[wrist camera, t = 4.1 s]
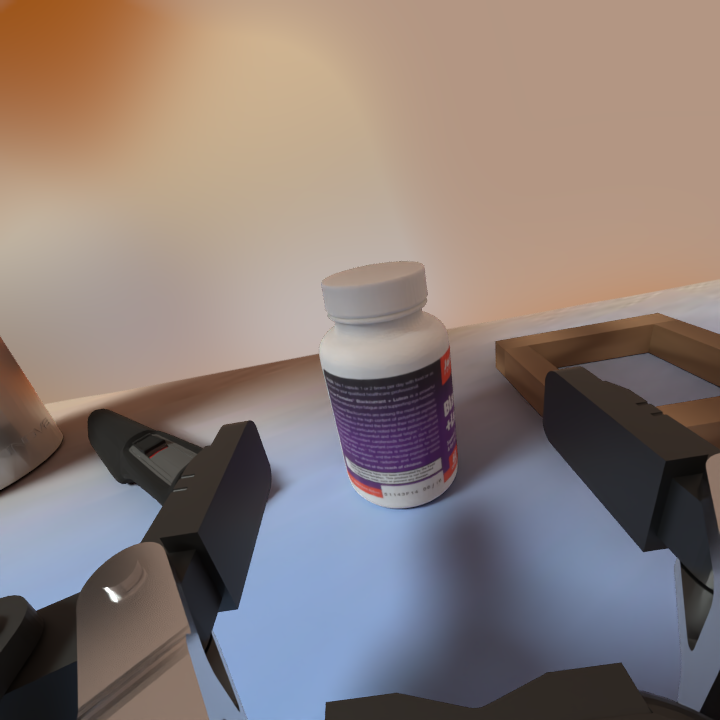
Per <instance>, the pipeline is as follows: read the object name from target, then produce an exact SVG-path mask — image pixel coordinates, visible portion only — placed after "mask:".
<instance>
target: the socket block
mask: <svg viewBox="0 0 720 720" xmlns="http://www.w3.org/2000/svg"><path fill="white" fill-rule="evenodd" d="M495 343H496V368H497V369H498V370H499V371H500V372H501V373H502V374H503V375H504V377H505V378H506V379H507V380H508V381H509V382H510V383H511V384H512V385H513V386H514V387H515V388H516V389H517V391H518V392H519V393H520V394H521V395H522V396H523V397H524V398H525V399H526V400H527V401H528V402H529V403H530V405H531V406H532V407H533V408H534V409H535V410H536V411H537V412H538V413H539V414H540V415H541V416H542V417H543V408H544V391H545V378H546V375H547V373H548V372H549V371H554V370H559V369H558V368H559V367H564V366H570V365H576V364H582V363H588V362H594V361H600V360H606V359H612V358H617V357H623V356H629V355H635V354H641V353H647V352H649V353H651V354H653V355H655V356H657V357H659V358H661V359H663V360H665V361H667V362H669V363H671V364H673V365H675V366H677V367H680V368H682V369H684V370H686V371H688V372H690V373H692V374H694V375H696V376H698V377H700V378H702V379H704V380H706V381H708V382H710V383H713V384H715V385H717V386H719V387H720V334H717V333H714V332H711V331H709V330H706V329H703V328H700V327H697V326H694V325H691V324H688V323H685V322H682V321H680V320H677V319H674V318H671V317H668V316H665V315H662V314H659V313H655V314H650V315H644V316H638V317H632V318H627V319H621V320H615V321H609V322H604V323H598V324H592V325H586V326H581V327H575V328H569V329H563V330H558V331H552V332H546V333H540V334H535V335H529V336H523V337H517V338H511V339H506V340H500V341H495ZM656 408H658V409H659V410H661V411H662V412H663V414H664V415H665V414H667V415H669V416H670V417H672V418H673V419H675V420H676V421H678V422H679V423H681V424H682V425H684V426H685V427H687V428H688V429H690V430H691V431H693V432H694V433H696V434H697V435H699V436H700V437H702V438H703V439H705V440H707V441H708V442H710V443H711V444H713V445H714V446H716V447H717V448H719V449H720V396H717V397H711V398H705V399H699V400H693V401H687V402H681V403H675V404H669V405H663V406H657V407H656Z"/></svg>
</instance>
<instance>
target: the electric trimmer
mask: <svg viewBox="0 0 720 720" xmlns="http://www.w3.org/2000/svg"><path fill="white" fill-rule="evenodd" d="M88 437H89V440H90V443H91V445H92V446H93V448H94V450H95V451H96V453H97V454H98V455H99V457H100V458H101V460H102V461H103V463H104V464H105V466H106V467H107V469H108V470H109V472H110V473H111V474H112V475H113V477H114V478H115V479H116V480H117V481H118V482H119V483H122V484H126V483H131V482H135V483H136V484H138V485H139V486H140V487H141V488H142V489H144V490H145V491H146V492H147V493H149V494H150V495H151V496H152V497H154V498H155V499H156V500H157V501H158V502H159V503H160V504H161V505H162V506H163V505H164V503H165V502H166V500H167V498H168V497H169V495H170V493H172V492H173V488H174V487H175V485H176V483H177V482H178V480H179V479H181V475H182V474H183V472H184V470H185V469H186V467H187V465H188V464H189V462H190V460H192V459H193V458H194V457H195V456H196V455H197V454H198V453H199V452H200V451H201V450H202V449H203V448H201V447H198V446H196V445H194V444H191V443H189V442H187V441H184V440H182V439H179V438H177V437H175V436H172V435H169V434H167V433H164V432H161V431H156V430H153V429H151V428H149V427H147V426H144V425H142V424H140V423H138V422H135V421H133V420H131V419H129V418H126V417H124V416H122V415H119V414H117V413H115V412H113V411H110V410H107V409H98V410H95V411H93V412H92V413H91V414H90V416H89V417H88Z"/></svg>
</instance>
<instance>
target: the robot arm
mask: <svg viewBox="0 0 720 720" xmlns="http://www.w3.org/2000/svg"><path fill="white" fill-rule="evenodd" d="M543 426H544V430H545V433H546V436H547V438H548V440H549V442H550V443H551V444H552V445H553V447H554V448H555V449H556V450H557V451H558V452H559V454H560V455H561V456H562V457H563V458H564V460H565V461H566V462H567V463H568V464H569V465H570V467H571V468H572V469H573V470H574V471H575V472H576V474H577V475H578V476H579V477H580V478H581V479H582V481H583V482H584V483H585V484H586V485H587V487H588V488H589V489H590V490H591V491H592V492H593V494H594V495H595V496H596V497H597V498H598V499H599V501H600V502H601V503H602V504H603V505H604V506H605V508H606V509H607V510H608V511H609V512H610V513H611V515H612V516H613V517H614V518H615V519H616V521H617V522H618V523H619V524H620V525H621V526H622V528H623V529H624V530H625V531H626V532H627V533H628V535H629V536H630V537H631V538H632V539H633V540H634V542H635V543H636V544H637V545H638V546H639V548H640V549H641V550H642V551H643V552H646V551H653V550H660V549H667V548H669V549H670V550H671V552H672V553H673V554H674V555H675V556H676V557H677V558H676V562H675V565H674V577H675V589H676V602H677V614H678V627H679V639H680V652H681V675H680V683H679V690H678V702H675V701H673V700H670V699H668V698H665V697H662V696H658V695H655V694H652V693H649V692H645V691H641V690H638V689H637V688H636V686H635V684H634V683H633V681H632V679H631V678H630V676H629V674H628V673H627V671H626V669H625V668H624V666H623V664H622V663H614V664H607V665H600V666H592V667H585V668H577V669H570V670H562V671H555V672H548V673H545V674H543V675H542V676H540V677H538V678H536V679H534V680H532V681H530V682H529V683H527V684H525V685H523V686H521V687H519V688H517V689H516V690H514V691H512V692H510V693H508V694H506V695H504V696H503V697H501V698H499V699H497V700H495V701H493V702H491V703H490V704H488V705H486V706H483V707H481V708H468V707H463V706H458V705H453V704H449V703H444V702H439V701H434V700H429V699H424V698H419V697H415V696H410V695H405V694H400V693H392V694H384V695H377V696H369V697H362V698H354V699H347V700H340V701H332V702H326V709H325V720H720V449H719V448H717V447H716V446H714V445H713V444H711V443H710V442H708V441H707V440H705V439H703V438H702V437H700V436H699V435H697V434H696V433H694V432H693V431H691V430H690V429H688V428H687V427H685V426H684V425H682V424H681V423H679V422H678V421H676V420H675V419H673V418H672V417H670V416H669V415H667V414H665V415H664V414H663V412H662V411H661V410H659V409H658V408H656V407H655V406H653V405H652V404H648V403H647V401H646V400H644V399H643V398H641V397H640V396H638V395H637V394H635V393H634V392H632V391H631V390H629V389H626V388H623V387H621V386H618V385H615V384H612V383H610V382H607V381H602V380H601V379H599V378H598V377H596V376H595V375H593V374H592V373H590V372H589V371H588V370H586V369H585V368H583V367H580V366H578V367H572V368H566V369H560V370H554V371H549V372H548V373H547V375H546V378H545V391H544V408H543ZM62 439H63V435H62V432H61V431H60V429H59V428H58V426H57V425H56V423H55V421H54V420H53V418H52V417H51V415H50V414H49V412H48V410H47V409H46V407H45V406H44V404H43V403H42V401H41V400H40V398H39V397H38V395H37V393H36V392H35V390H34V388H33V387H32V385H31V383H30V382H29V380H28V379H27V377H26V376H25V374H24V373H23V371H22V369H21V368H20V366H19V365H18V363H17V362H16V360H15V359H14V357H13V355H12V354H11V352H10V351H9V349H8V348H7V346H6V345H5V343H4V342H3V340H2V338H1V337H0V490H1V489H3V488H4V487H6V486H8V485H10V484H11V483H13V482H15V481H16V480H18V479H20V478H21V477H23V476H24V475H26V474H27V473H29V472H30V471H32V470H33V469H34V468H36V467H37V466H38V465H40V464H41V463H42V462H43V461H45V460H46V459H47V458H48V457H49V456H50V455H51V454H52V453H53V452H54V451H55V450H56V449H57V448H58V446H59V445H60V444H61V442H62ZM270 487H271V468H270V464H269V461H268V458H267V455H266V453H265V450H264V447H263V444H262V441H261V439H260V436H259V433H258V430H257V428H256V425H255V424H254V422H253V421H244V422H238V423H232V424H226V425H223V426H222V427H221V429H220V430H219V432H218V434H217V436H216V437H215V439H214V441H213V443H212V445H210V446H206V447H204V448H203V449H202V450H201V451H200V452H199V453H198V454H197V455H196V456H195V457H194V458H193V459H192V460H190V462H189V464H188V465H187V467H186V469H185V470H184V472H183V474H182V475H181V479H179V480H178V482H177V483H176V485H175V487H174V488H173V492H172V493H170V495H169V497H168V498H167V500H166V502H165V503H164V505H163V507H162V508H161V510H160V511H159V513H158V515H157V516H156V518H155V520H154V521H153V523H152V525H151V526H150V528H149V530H148V531H147V533H146V535H145V536H144V538H143V539H142V541H141V543H139V544H136V545H133V546H131V547H128V548H126V549H124V550H122V551H121V552H119V553H117V554H116V555H114V556H113V557H111V558H110V559H109V560H107V561H106V562H105V563H104V564H103V565H101V566H100V567H99V568H98V569H97V570H96V571H95V572H94V573H93V574H92V576H91V577H90V578H89V579H88V581H87V582H86V584H85V585H84V587H83V588H82V590H81V592H79V593H77V594H75V595H72V596H70V597H68V598H65V599H63V600H61V601H58V602H56V603H54V604H51V605H49V606H47V607H44V608H42V609H39V610H37V611H36V610H35V609H34V608H33V607H32V606H31V605H30V604H29V603H28V602H27V601H26V600H25V599H24V597H21V596H16V595H13V596H7V597H3V598H0V720H248V718H247V716H246V713H245V711H244V708H243V706H242V703H241V700H240V698H239V695H238V692H237V690H236V687H235V685H234V682H233V679H232V677H231V674H230V672H229V669H228V666H227V664H226V661H225V659H224V656H223V653H222V651H221V648H220V646H219V643H218V640H217V638H216V635H215V633H214V632H213V630H212V629H213V626H214V623H215V620H216V616H217V613H218V612H223V611H229V610H236V609H238V607H239V603H240V599H241V596H242V592H243V588H244V584H245V581H246V577H247V573H248V569H249V566H250V562H251V558H252V554H253V551H254V547H255V543H256V539H257V536H258V532H259V528H260V525H261V521H262V517H263V513H264V510H265V506H266V502H267V498H268V495H269V491H270Z"/></svg>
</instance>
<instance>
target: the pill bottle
mask: <svg viewBox="0 0 720 720" xmlns="http://www.w3.org/2000/svg"><path fill="white" fill-rule="evenodd" d="M321 286H322V291H323V297H324V303H325V309H326V311H327V313H328V317H329V319H331V320H332V321H334V322H335V326H334V327H332V328H331V329H330V330H329V331H328V332H327V333H326V334H325V335H324V337H323V338H322V340H321V343H320V347H319V356H320V361H321V366H322V370H323V374H324V378H325V382H326V386H327V390H328V395H329V399H330V403H331V407H332V411H333V415H334V420H335V424H336V428H337V432H338V436H339V440H340V445H341V449H342V453H343V458H344V462H345V466H346V469H347V473H348V477H349V480H350V482H351V484H352V486H353V487H354V489H355V490H356V491H357V493H358V494H359V495H361V496H362V497H363V498H365V499H366V500H367V501H369V502H371V503H373V504H376V505H379V506H382V507H387V508H409V507H415V506H419V505H422V504H425V503H427V502H430V501H432V500H434V499H435V498H437V497H438V496H440V495H441V494H442V493H444V492H445V491H446V490H447V489H448V487H449V486H450V485H451V484H452V482H453V480H454V478H455V476H456V473H457V467H458V453H457V440H456V426H455V414H454V401H453V387H452V374H451V360H450V346H449V339H448V333H447V330H446V328H445V326H444V325H443V323H442V322H441V321H440V320H439V319H437V318H436V317H435V316H433V315H431V314H429V313H426V312H423V311H422V307H424V306H425V304H426V302H427V298H426V297H427V295H428V292H427V286H426V277H425V268H424V265H423V264H421V263H418V262H408V261H399V262H387V263H379V264H373V265H366V266H362V267H357V268H353V269H349V270H346V271H342V272H339V273H336V274H334V275H331V276H329V277H327V278H325V279H324V280H323V281H322V283H321Z"/></svg>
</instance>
